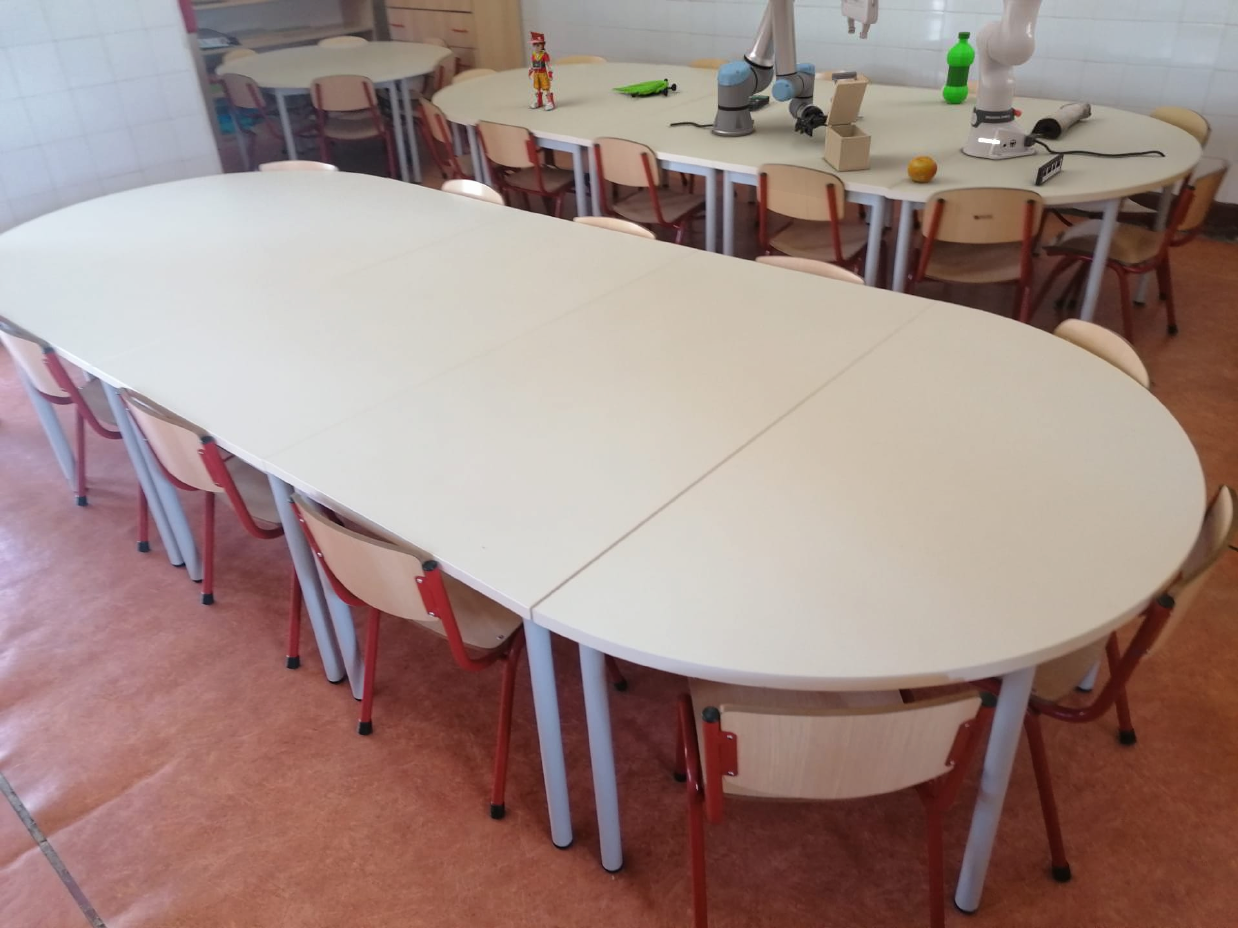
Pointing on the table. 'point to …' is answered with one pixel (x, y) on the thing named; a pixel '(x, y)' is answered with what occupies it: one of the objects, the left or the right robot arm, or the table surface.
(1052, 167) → the midi keyboard
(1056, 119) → the rolled mat
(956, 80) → the plastic bottle
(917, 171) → the fruit
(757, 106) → the disk drive
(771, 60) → the left robot arm
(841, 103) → the lid
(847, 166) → the chest
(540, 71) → the toy
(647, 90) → the toy
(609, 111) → the table surface
